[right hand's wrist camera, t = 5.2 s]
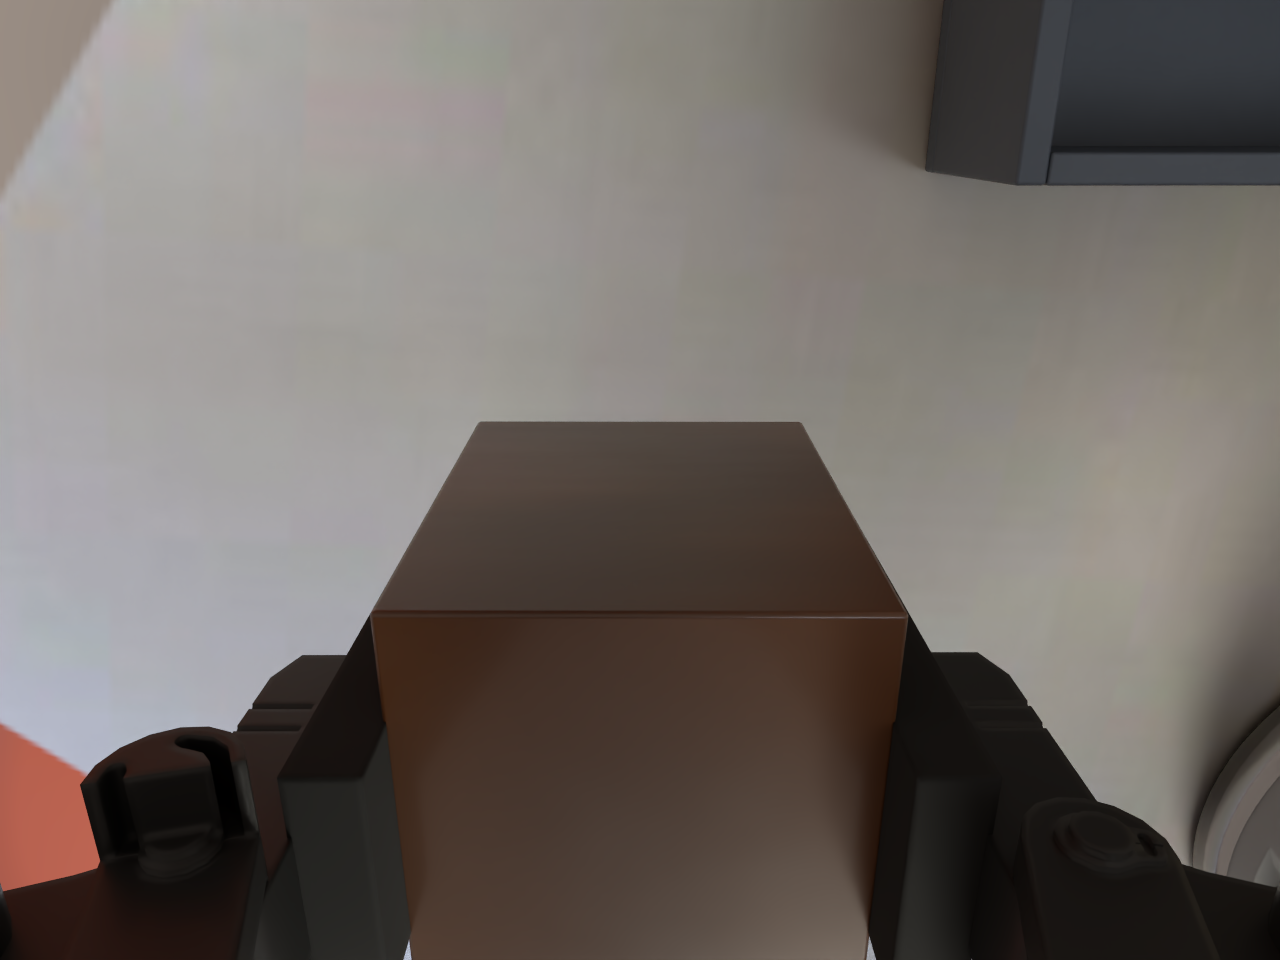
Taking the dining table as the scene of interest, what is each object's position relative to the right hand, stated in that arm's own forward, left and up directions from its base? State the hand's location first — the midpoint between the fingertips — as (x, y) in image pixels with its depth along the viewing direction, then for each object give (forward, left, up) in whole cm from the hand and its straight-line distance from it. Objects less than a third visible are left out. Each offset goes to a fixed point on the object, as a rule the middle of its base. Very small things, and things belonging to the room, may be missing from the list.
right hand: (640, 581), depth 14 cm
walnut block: (0, 0, 0) cm, 0 cm away
